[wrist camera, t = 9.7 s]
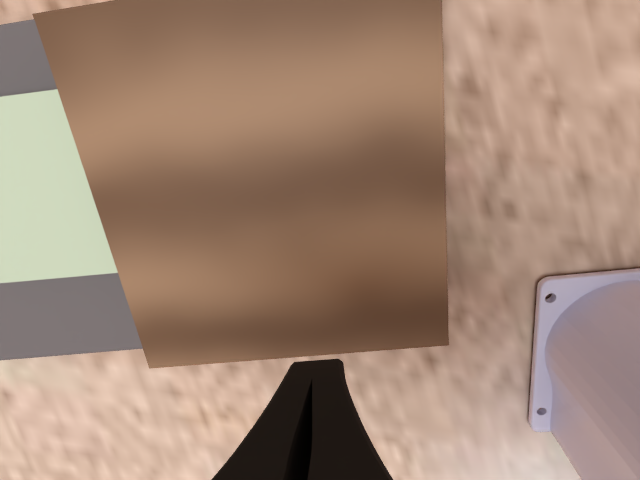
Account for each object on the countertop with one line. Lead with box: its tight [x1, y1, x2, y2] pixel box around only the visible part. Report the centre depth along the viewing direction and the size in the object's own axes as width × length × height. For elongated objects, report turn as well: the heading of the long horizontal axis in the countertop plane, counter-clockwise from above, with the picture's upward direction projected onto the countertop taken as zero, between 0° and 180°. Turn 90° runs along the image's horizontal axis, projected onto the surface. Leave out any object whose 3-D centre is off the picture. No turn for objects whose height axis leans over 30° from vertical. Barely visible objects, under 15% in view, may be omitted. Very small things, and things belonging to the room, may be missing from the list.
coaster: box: [0, 89, 118, 283], centre depth 18 cm, size 8×8×2 cm
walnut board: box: [33, 0, 449, 368], centre depth 17 cm, size 15×14×3 cm
